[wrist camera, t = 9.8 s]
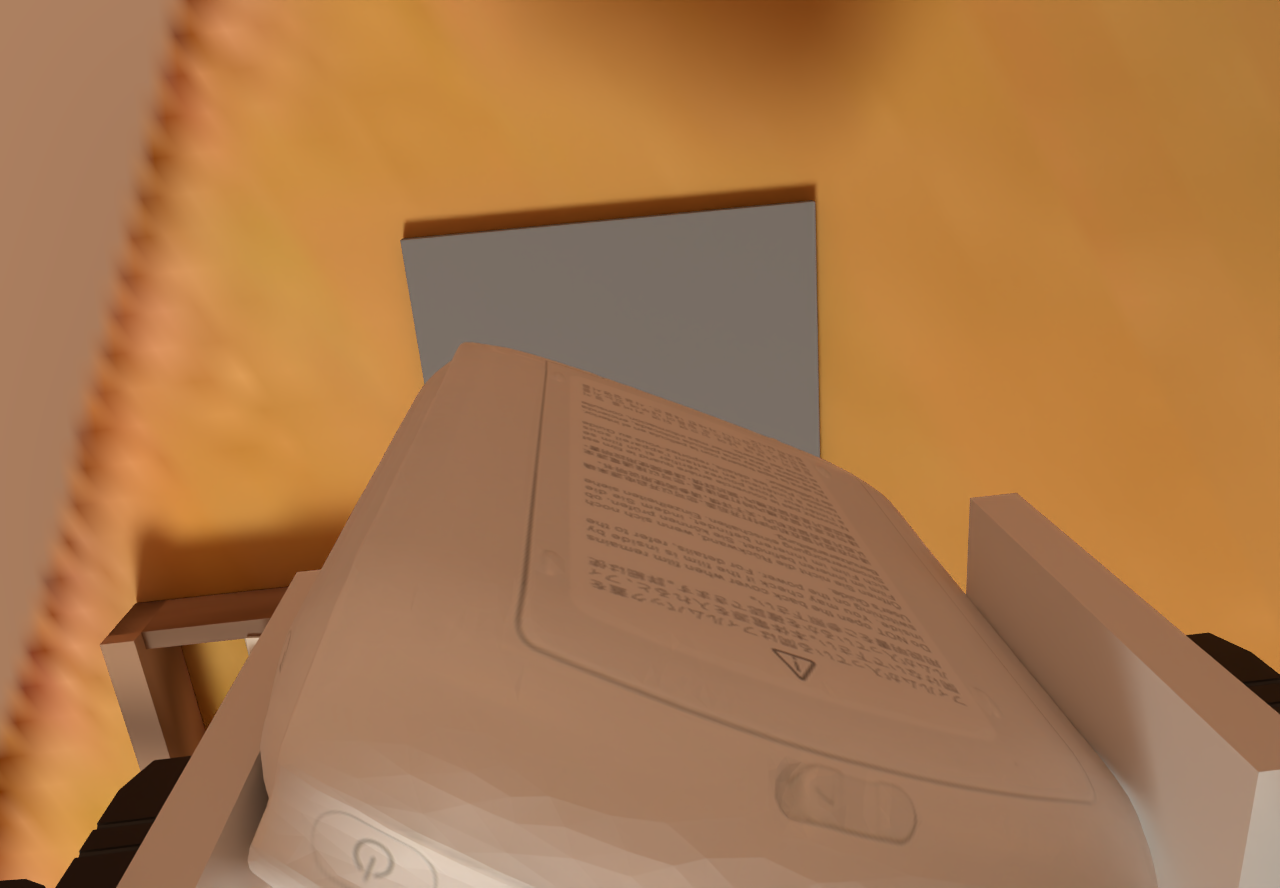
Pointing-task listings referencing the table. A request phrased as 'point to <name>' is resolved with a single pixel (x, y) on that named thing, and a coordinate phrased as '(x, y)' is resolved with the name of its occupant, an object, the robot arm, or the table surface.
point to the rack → (174, 663)
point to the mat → (643, 306)
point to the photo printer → (655, 672)
